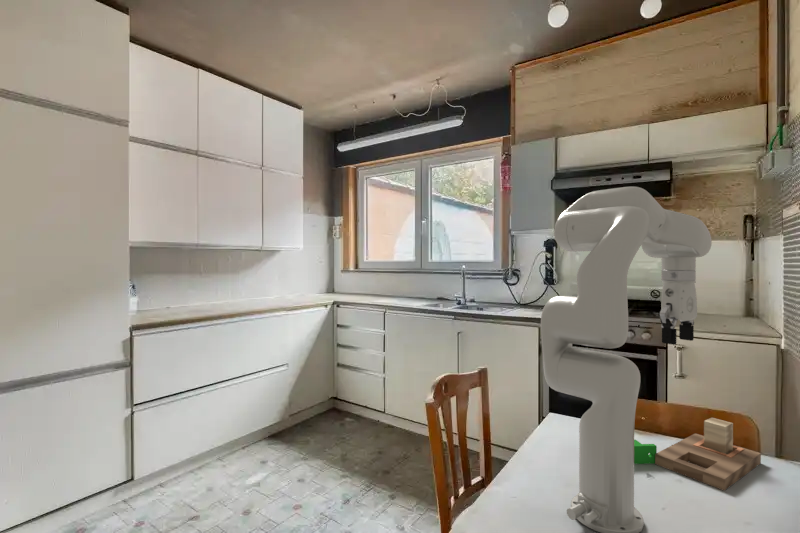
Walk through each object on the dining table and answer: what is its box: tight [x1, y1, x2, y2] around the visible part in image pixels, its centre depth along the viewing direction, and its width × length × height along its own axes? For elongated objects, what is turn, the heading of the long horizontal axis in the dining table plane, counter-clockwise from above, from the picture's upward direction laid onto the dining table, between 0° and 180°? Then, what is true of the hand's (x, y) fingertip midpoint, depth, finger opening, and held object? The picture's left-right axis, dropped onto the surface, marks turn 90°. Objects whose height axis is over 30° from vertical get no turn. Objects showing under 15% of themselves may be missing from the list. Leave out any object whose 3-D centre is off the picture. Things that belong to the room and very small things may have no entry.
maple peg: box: [703, 417, 734, 454], centre depth 104 cm, size 4×4×9 cm
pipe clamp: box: [634, 439, 658, 465], centre depth 102 cm, size 11×4×5 cm, turn 92°
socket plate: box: [655, 433, 762, 491], centre depth 101 cm, size 22×14×3 cm, turn 123°
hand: (677, 341), depth 109 cm, fingers open, 9 cm apart
